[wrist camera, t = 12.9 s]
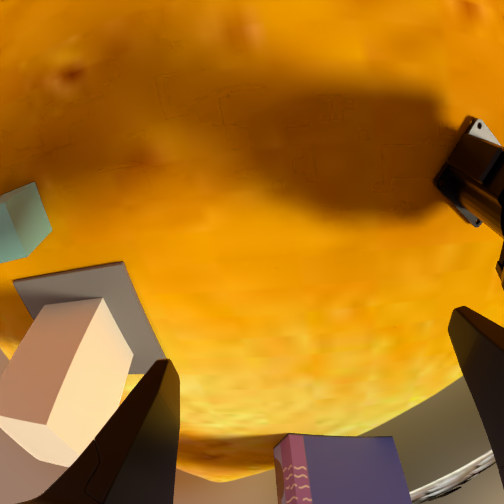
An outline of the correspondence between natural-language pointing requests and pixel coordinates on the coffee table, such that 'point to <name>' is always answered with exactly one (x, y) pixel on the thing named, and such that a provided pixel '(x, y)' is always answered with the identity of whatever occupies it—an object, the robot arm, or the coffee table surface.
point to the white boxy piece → (64, 380)
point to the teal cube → (21, 222)
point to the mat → (115, 296)
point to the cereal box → (339, 470)
